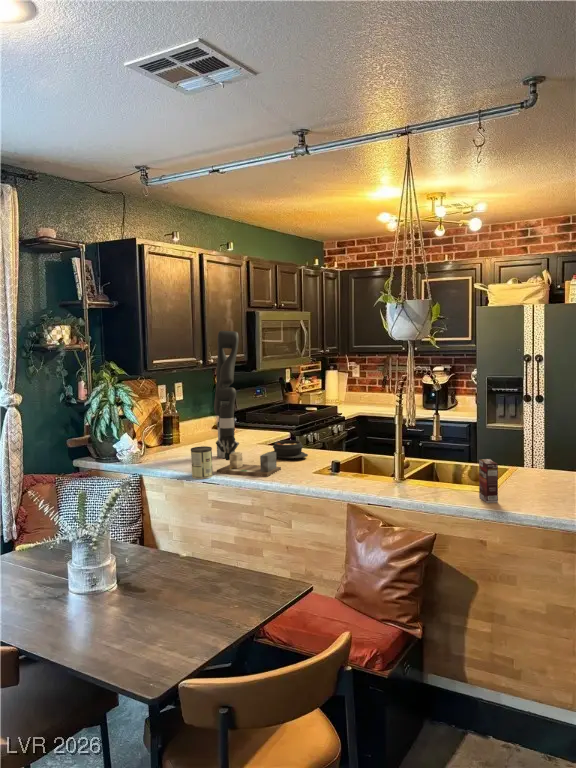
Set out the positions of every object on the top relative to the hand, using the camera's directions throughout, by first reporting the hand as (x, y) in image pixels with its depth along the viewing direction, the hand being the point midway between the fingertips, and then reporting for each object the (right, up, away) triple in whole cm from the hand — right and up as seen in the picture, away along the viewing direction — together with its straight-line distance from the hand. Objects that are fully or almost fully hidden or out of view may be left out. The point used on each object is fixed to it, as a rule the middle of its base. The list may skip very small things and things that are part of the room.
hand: (228, 460), depth 314 cm
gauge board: (+11, -5, -4) cm, 13 cm away
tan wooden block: (+4, -4, -3) cm, 6 cm away
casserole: (+31, -2, +29) cm, 42 cm away
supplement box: (+111, -8, -67) cm, 130 cm away
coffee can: (-11, -7, -13) cm, 18 cm away
